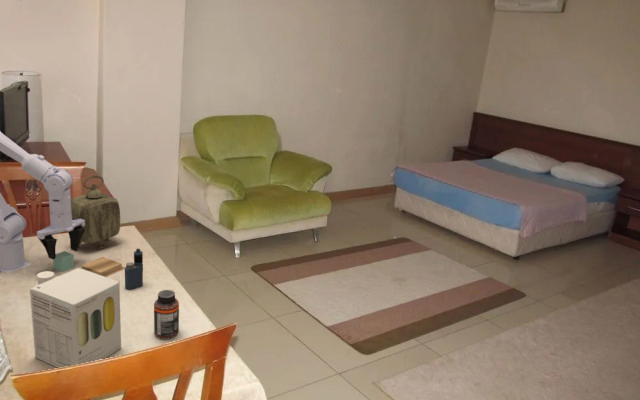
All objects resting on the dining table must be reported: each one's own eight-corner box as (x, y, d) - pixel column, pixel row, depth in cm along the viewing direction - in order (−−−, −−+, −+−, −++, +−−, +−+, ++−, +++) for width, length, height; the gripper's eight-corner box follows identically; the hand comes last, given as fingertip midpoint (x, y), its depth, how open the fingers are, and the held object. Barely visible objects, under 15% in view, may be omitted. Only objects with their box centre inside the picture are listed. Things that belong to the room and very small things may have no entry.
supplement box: (76, 377, 113) (72, 305, 108) (33, 358, 118) (28, 287, 113) (122, 348, 125) (121, 281, 119) (82, 331, 130) (79, 266, 125)
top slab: (81, 269, 159) (81, 265, 159) (103, 261, 166) (103, 256, 166) (100, 277, 156) (100, 272, 155) (121, 268, 163) (121, 263, 162)
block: (53, 270, 159) (52, 255, 157) (65, 265, 162) (64, 251, 161) (62, 274, 157) (61, 258, 156) (74, 269, 161) (73, 254, 159)
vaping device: (144, 287, 154) (144, 249, 150) (127, 292, 150) (127, 254, 146) (140, 284, 155) (140, 246, 152) (123, 289, 151) (122, 250, 148)
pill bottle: (49, 314, 135) (47, 280, 132) (31, 311, 136) (28, 276, 133) (63, 305, 140) (61, 272, 138) (45, 301, 141) (43, 268, 138)
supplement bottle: (156, 326, 135) (156, 286, 131) (180, 327, 135) (181, 287, 132) (151, 339, 129) (151, 298, 126) (176, 340, 130) (176, 299, 126)
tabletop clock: (108, 238, 185) (106, 169, 177) (123, 246, 180) (122, 175, 173) (68, 249, 174) (64, 176, 166) (83, 257, 169) (80, 183, 161)
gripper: (47, 221, 146) (50, 265, 150) (90, 208, 159) (92, 250, 163) (30, 215, 149) (34, 259, 153) (75, 203, 162) (77, 244, 166)
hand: (63, 254), depth 158 cm, fingers open, 7 cm apart
